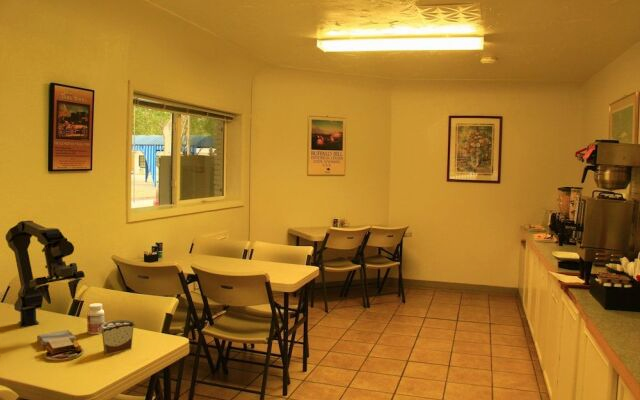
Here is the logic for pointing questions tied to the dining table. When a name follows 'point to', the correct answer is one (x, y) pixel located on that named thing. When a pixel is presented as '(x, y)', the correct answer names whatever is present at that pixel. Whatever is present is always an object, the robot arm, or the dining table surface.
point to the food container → (117, 335)
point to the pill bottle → (95, 318)
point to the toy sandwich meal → (62, 349)
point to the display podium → (44, 338)
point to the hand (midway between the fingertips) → (61, 301)
